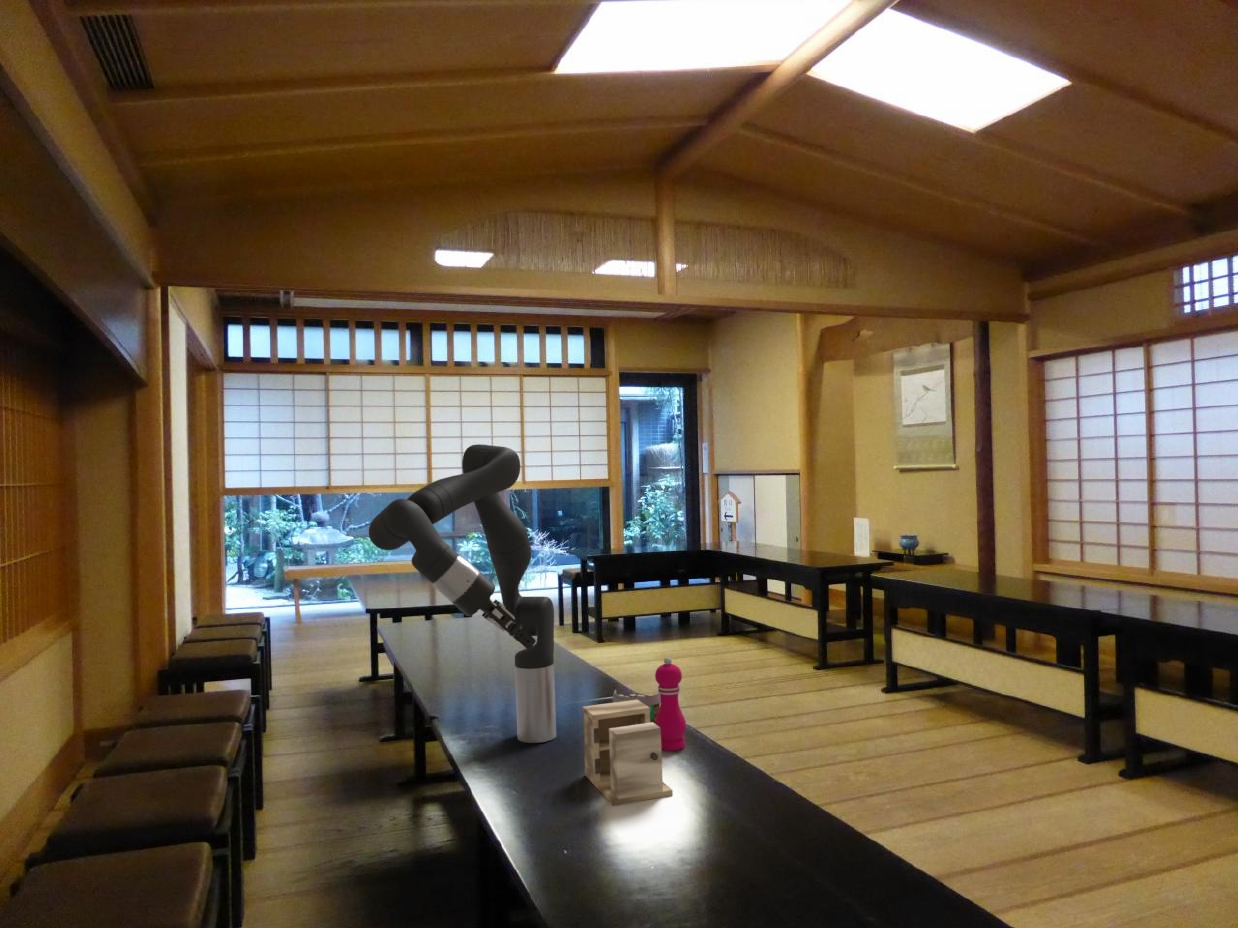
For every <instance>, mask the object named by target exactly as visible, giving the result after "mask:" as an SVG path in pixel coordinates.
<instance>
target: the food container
mask: <svg viewBox="0 0 1238 928" xmlns="http://www.w3.org/2000/svg"><path fill="white" fill-rule="evenodd" d="M629 700H639V701H640V702H642V703H643V704H645V705H646V706H648V707H649V708H650V723H651V722H653V723H654V724H655V720H656V717H657V714H658V712H659V709H660V704H661V698H660V693H656V694H653V695H647V694H644V693H638V692H637V693H618V692H617V689H615V690H614V693H613V695H612V703H614V702H622V701H629Z"/></svg>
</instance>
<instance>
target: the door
mask: <svg viewBox="0 0 1238 928" xmlns="http://www.w3.org/2000/svg"><path fill="white" fill-rule="evenodd" d="M609 746H610V773H611V792H612V793H613V794H614V795H615V796H616V797H617V798H618V799H623V798H629V797H634V796H640V795H646V794H651V793H657V792H663V782H664V781H663V760H662V759H663V758H662V757H663V755H662V750H661V728H660V727H659V726H657V725H656V724H654V723H653V722H651V723H644V724H637V725H630V726H623V727H616V728H609Z"/></svg>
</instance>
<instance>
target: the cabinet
mask: <svg viewBox="0 0 1238 928" xmlns="http://www.w3.org/2000/svg"><path fill="white" fill-rule="evenodd" d="M582 721H583V722H582V723H583V724H582V725H583V727H582V728H583V729H582V730H583V753H584V776H585V777H586V778H587V779H588V780H589V781H590V783H592V784H593V786H594V787H595V788H596V789H597V790H598V791H599V792H600V793H601V794H602V795H603V797H604V798H605V799H606V801H608V802H609V803H610V804H611V805H612V806H613V807H614V806H620V805H625V804H631V803H637V802H642V801H648V800H653V799H659V798H660V799H661V798H665V797H666V798H667V797H670V796H673V789H672V788H671V787H670V786H668V785H667V784H666V783H665V782H664V781H663V792H657V793H651V794H646V795H640V796H634V797H629V798H623V799H618V798H617V797H616V796H615V795H614V794H613V793H612V792H611V773H610V746H609V728H616V727H623V726H630V725H637V724H644V723H650V708H649V707H648V706H646V705H645V704H643V703H642V702H640V701H639V700H629V701H622V702H614V703H613V702H608V703H600V704H593V705H587V706H585V705H584V706H582Z"/></svg>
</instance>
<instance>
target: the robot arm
mask: <svg viewBox="0 0 1238 928" xmlns="http://www.w3.org/2000/svg"><path fill="white" fill-rule="evenodd" d="M461 467H462V473H461V474H455V475H452V476H448V477H444V478H441V479H437V480H435V481H432V482H431V483H429V484H426V485H425V486H423V487H421V488H420V489H417V490H416V491H415V492H413V493H412V494H411V495H409V496H408V498H407V499H406V498H397V499H395V500H393V501H391V502H390V503H389V504H388V505H387V506H386V507H384V508H383V510H381V511H380V512H379V513H378V514H377V515H376V516H375V517H374V518H373V519H372V521H371V522H370V525H369V527H368V536H369V539H370V541H371V544H373V545H374V546H375V547H376V548H378V549H380V550H383V551H394V550H397V549H399V548H401V547H403V546H404V545H406V544H407V543H408V542H410V543H411V545H412V546H413V548H414V549H415V551H414V553H413V555H412V557H411V564H412V566H413V568H414V569H416V571H418V572H419V573H420V575H421V576H423V577H424V578H425V579H426V580H428V581H429V582H430V583H431V584H433V586H434V587H435V589H437V591H438V592H439V593H440V594H441V595H443V596H444V598H446V599H447V600H448V601H450V603H451V604H453V605H454V606H455V607H456V608H457V609H458V610H459V611H461V612H462V613H463V614H464V615H465V616H466V617H472V616H473V615H475V614H476V613H478V611H479V610H480V611H481V612H483V613H482V614H481V617H483V618H484V619H485V620H486V621H487V622H488V623H490V624H493V625H494V627H496V628H497V629H498V630H499V631H501V632H506V633H508V635H509V636H510V637H511V638H513V639H514V640H515V641H517V642H519V643H520V644H521V645H522V646H523V647H524V648H525V649H522V650H519V651H517V652H516V653H515V655H514V677H515V678H514V679H515V704H516V705H515V707H516V709H515V710H516V734H517V739H516V740H518V741H519V742H521V743H528V744H536V743H537V744H539V743H545V742H548V741H552V740H554V739H556V737H557V717H556V716H557V714H556V689H555V688H556V686H555V663H554V661H555V660H554V658H555V657H554V656H555V608H554V604H553V601H552V599H551V598H550V597H549V596H522V595H521V594H520V591H519V585H520V584H521V581H522V579H523V577H524V575H525V573H526V572H527V569H528V567H529V565H530V563H531V560H532V555H533V553H532V547H531V543H530V540H529V539H530V537H529V536H528V532H527V529H526V527H525V525H524V523H523V522H522V521H521V519H520V518H519V517H518V516H517V514H515V512H514V511H513V510H512V509H511V508H510V507H509V505H507V503H506V502H505V501H504V499H503V498H502V497H501V495H500V492H503V491H506V490H508V489H510V488H512V486H514V485H515V483H516V482H517V481H518V479H519V476H520V473H521V460H520V457H519V455H518V453H517V452H516V451H515V450H513V449H512V448H509V447H507V446H501V445H498V446H497V445H490V444H479V443H478V444H472V445H469V446H468V447H467V448H466V449H465V451H464V453H463V456H462V461H461ZM471 503H474V506H475V509H476V512H477V514H478V517H479V520H480V524H481V526H482V530H483V533H484V536H485V541H486V546H487V549H488V553H489V555H490V559H491V562H492V565H493V568H494V571H495V576H496V579H497V581H498V586H499V590H500V594H501V600H502V602H500V601H499V600H497V599H496V598H495V599H494V601H493V600H492V599H491V597H492V595H494V593H495V590H496V585H495V584H494V583H493V581H491V580H490V579H489V578H488V577H487V576H485V575H484V573H482V572H481V571H480V570H479V569H478V568H477V567H476V566H475V565H474V564H472V563H471V562H470V561H469V560H468V559H466V558H465V557H463V556H461V554H459V553H458V552H457V551H456V550H455V549H453V548H452V547H451V546H450V545H449V544H448V543H447V542H446V541H444V540H443V539H442V537H441V535H440V533H439V532H438V530H437V529H436V528H435V526H434V525H435V524H436V523H438V522H441V520H444V518H446V517H448V516H449V515H451V514H452V513H454V512H456V511H457V510H459V509H461V508H463V507H466V506H467V505H469V504H471ZM534 637H536V639H535V638H534Z"/></svg>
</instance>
